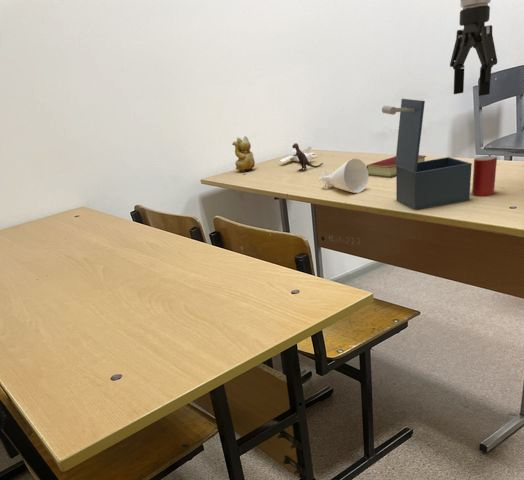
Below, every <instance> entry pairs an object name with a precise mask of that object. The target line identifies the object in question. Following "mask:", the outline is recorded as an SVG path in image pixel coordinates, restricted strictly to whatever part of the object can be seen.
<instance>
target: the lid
mask: <svg viewBox="0 0 524 480" xmlns="http://www.w3.org/2000/svg"><path fill="white" fill-rule="evenodd" d="M425 103H426V101H425V100H422V99H421V100H419V99H411V98H401V101H400V107H396V106H390V105H384V106H382V108H381V112H382V114H386V115H387V114H388V115H396V114H397V113H399V120H398V130H397V142H396V153H395V156H396V162H395V164H396V165H398V166H401V167H404V168H406V169H409V170H412V171H417V165H418V156H419V155H420V147H421V139H422V137H421V136H422V129H423V122H424V121H423V120H424V112H425Z"/></svg>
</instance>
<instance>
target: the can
mask: <svg viewBox="0 0 524 480" xmlns="http://www.w3.org/2000/svg"><path fill="white" fill-rule="evenodd" d="M497 160H498V158H497V156H494V155H482V156H477V157H475V158H474V159H473V172H472V188H471V195H472V196H477V197H486V196H487V197H488V196H492V195H494V194H495V187H496V186H495V185H496V174H497V164H498V163H497V162H498V161H497Z"/></svg>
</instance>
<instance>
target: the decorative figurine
mask: <svg viewBox="0 0 524 480" xmlns="http://www.w3.org/2000/svg"><path fill="white" fill-rule="evenodd" d="M231 145H232V146H234V147H235V148H234V154H235V156H236V158H238V159H237V160H235V170H237V171H238V172H239V173H246V172H250V171H253V168H255V164H256V162H255V158H254V154H253V152H252V150H251V145H252V144H251V142H250V140H249V138H248V137H247V136H246V135H244V136H243V139H242V138H241V137H236V141H233V142H232V143H231Z"/></svg>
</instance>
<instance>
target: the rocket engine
mask: <svg viewBox="0 0 524 480" xmlns="http://www.w3.org/2000/svg"><path fill="white" fill-rule="evenodd" d="M366 166H367V165H366V163H365V161H363V160H362V159H360V158H357V157H355V158H354V157H353V158H351V159H348V160H347V161H346V162H344V163H343V164H342V165H341V166H340V167H338V168H337V169H336V170H335V171H333V172H332V173H328V172H327V171H323V173H322V175H323V176H320V177H319V178H318V181H319V182H323V184H324V185H323V189H324V190H327V189H328V190H329V189H330V188H332V187H334V188H336V189H340V190H342V191H345V192H349V193H354V194H358V193H362V192H363V191H364V190H365V189H366V187H367V186H368V183H369V177H370V176H369V175H368V169H367V167H366Z"/></svg>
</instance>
